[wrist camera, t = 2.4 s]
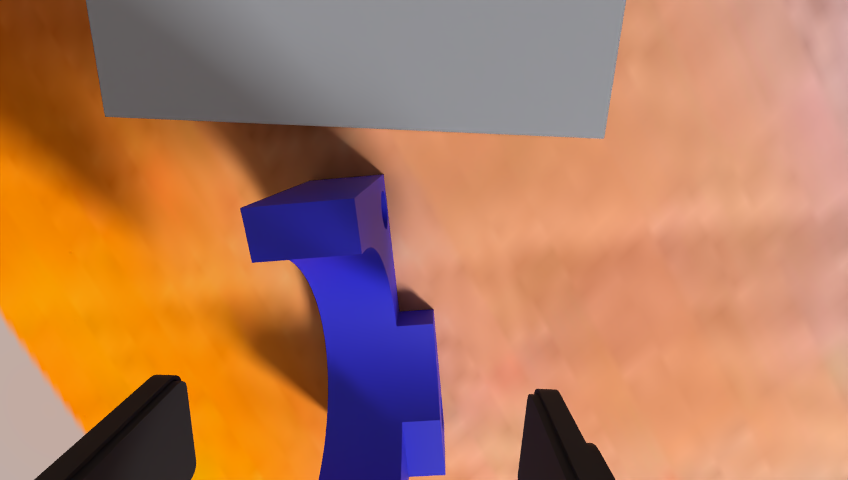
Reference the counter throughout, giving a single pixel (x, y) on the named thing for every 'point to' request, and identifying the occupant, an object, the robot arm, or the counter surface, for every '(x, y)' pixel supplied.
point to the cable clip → (359, 327)
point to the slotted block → (363, 63)
